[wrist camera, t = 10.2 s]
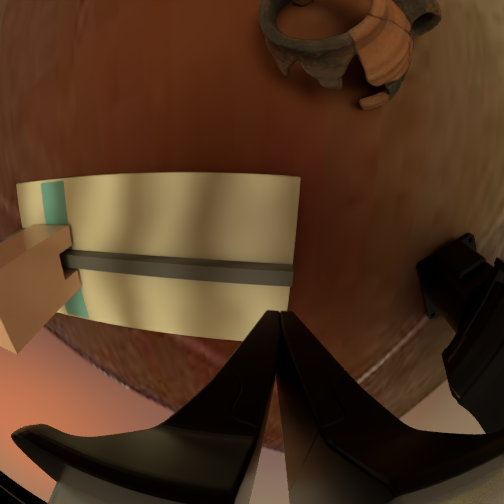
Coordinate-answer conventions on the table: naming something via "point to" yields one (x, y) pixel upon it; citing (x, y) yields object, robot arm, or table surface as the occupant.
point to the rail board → (173, 247)
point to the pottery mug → (356, 44)
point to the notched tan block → (33, 282)
